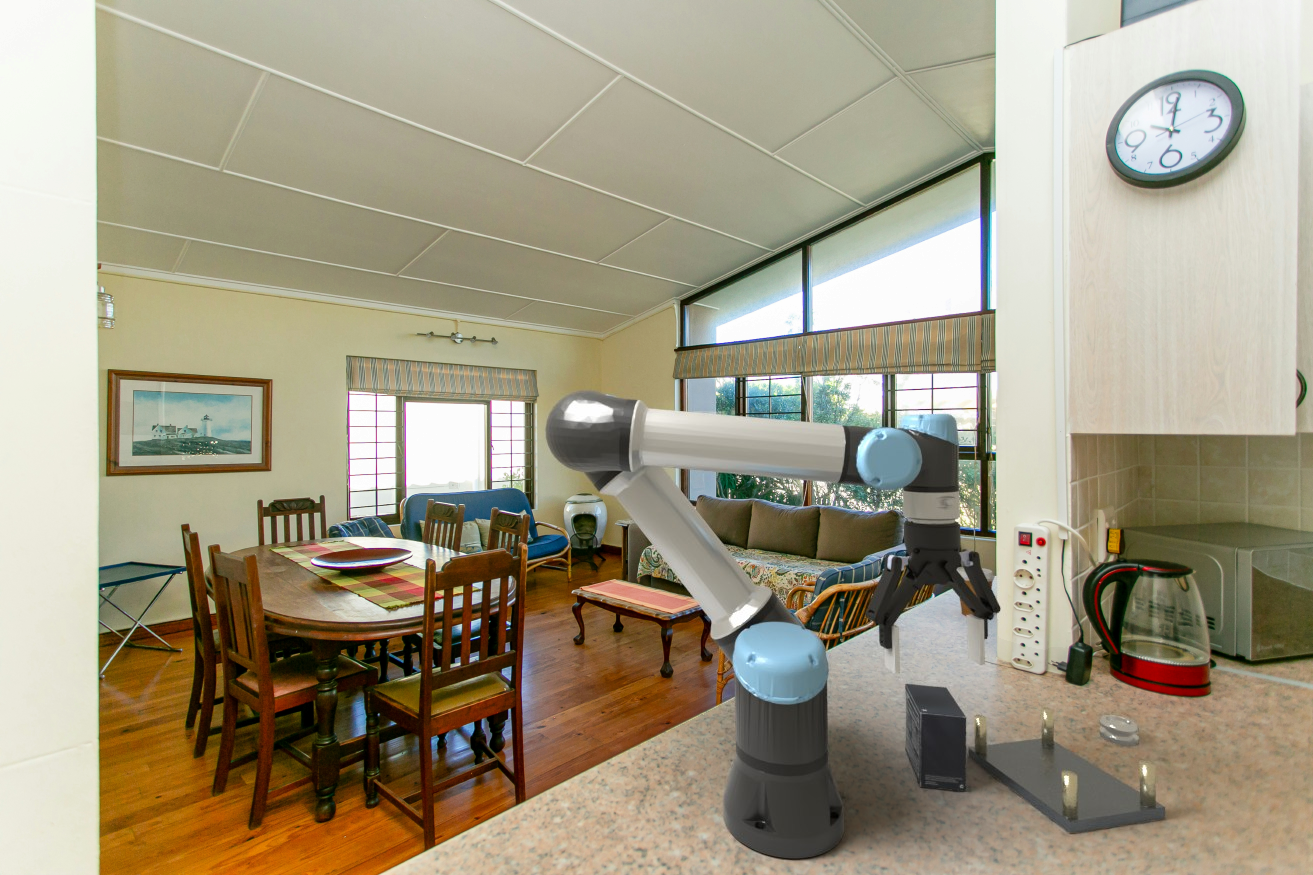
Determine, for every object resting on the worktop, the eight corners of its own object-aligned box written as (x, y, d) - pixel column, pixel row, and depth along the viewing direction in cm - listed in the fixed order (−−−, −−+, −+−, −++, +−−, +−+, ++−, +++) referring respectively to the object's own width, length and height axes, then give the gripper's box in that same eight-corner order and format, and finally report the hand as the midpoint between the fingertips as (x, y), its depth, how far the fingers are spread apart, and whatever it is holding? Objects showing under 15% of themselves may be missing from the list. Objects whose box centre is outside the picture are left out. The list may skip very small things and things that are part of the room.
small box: (970, 793, 82) (969, 716, 82) (919, 788, 83) (918, 712, 83) (949, 753, 93) (948, 685, 93) (904, 749, 94) (903, 682, 94)
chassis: (1070, 833, 74) (1069, 780, 74) (968, 757, 91) (967, 714, 91) (1165, 818, 76) (1164, 767, 76) (1048, 746, 94) (1047, 705, 94)
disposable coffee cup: (1002, 616, 161) (1002, 571, 161) (981, 622, 156) (980, 575, 156) (968, 607, 169) (968, 564, 169) (947, 613, 164) (947, 569, 164)
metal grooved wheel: (1093, 737, 97) (1131, 750, 93) (1093, 718, 97) (1131, 730, 93) (1106, 728, 100) (1144, 740, 95) (1106, 710, 100) (1143, 721, 95)
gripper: (866, 527, 82) (869, 683, 82) (1026, 519, 87) (1029, 666, 87) (839, 520, 89) (843, 663, 89) (988, 512, 94) (991, 649, 94)
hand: (934, 665), depth 88 cm, fingers open, 13 cm apart
